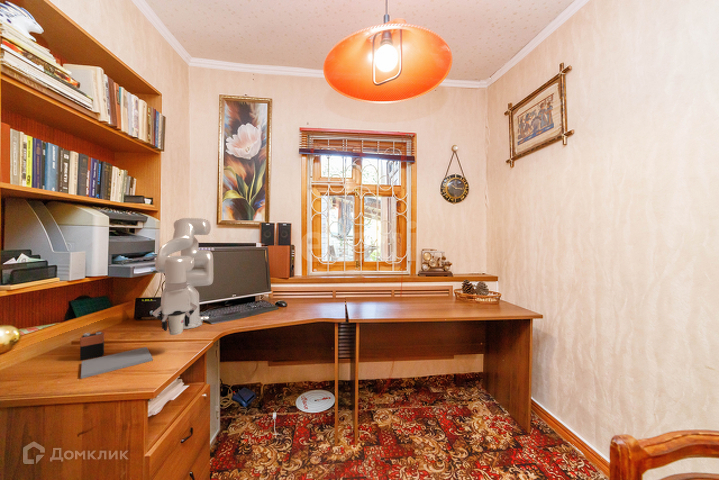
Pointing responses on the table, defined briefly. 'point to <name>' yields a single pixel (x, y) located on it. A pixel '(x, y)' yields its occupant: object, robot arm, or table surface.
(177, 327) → the coffee cup
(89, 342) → the battery
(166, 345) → the table surface
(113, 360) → the desk mat
